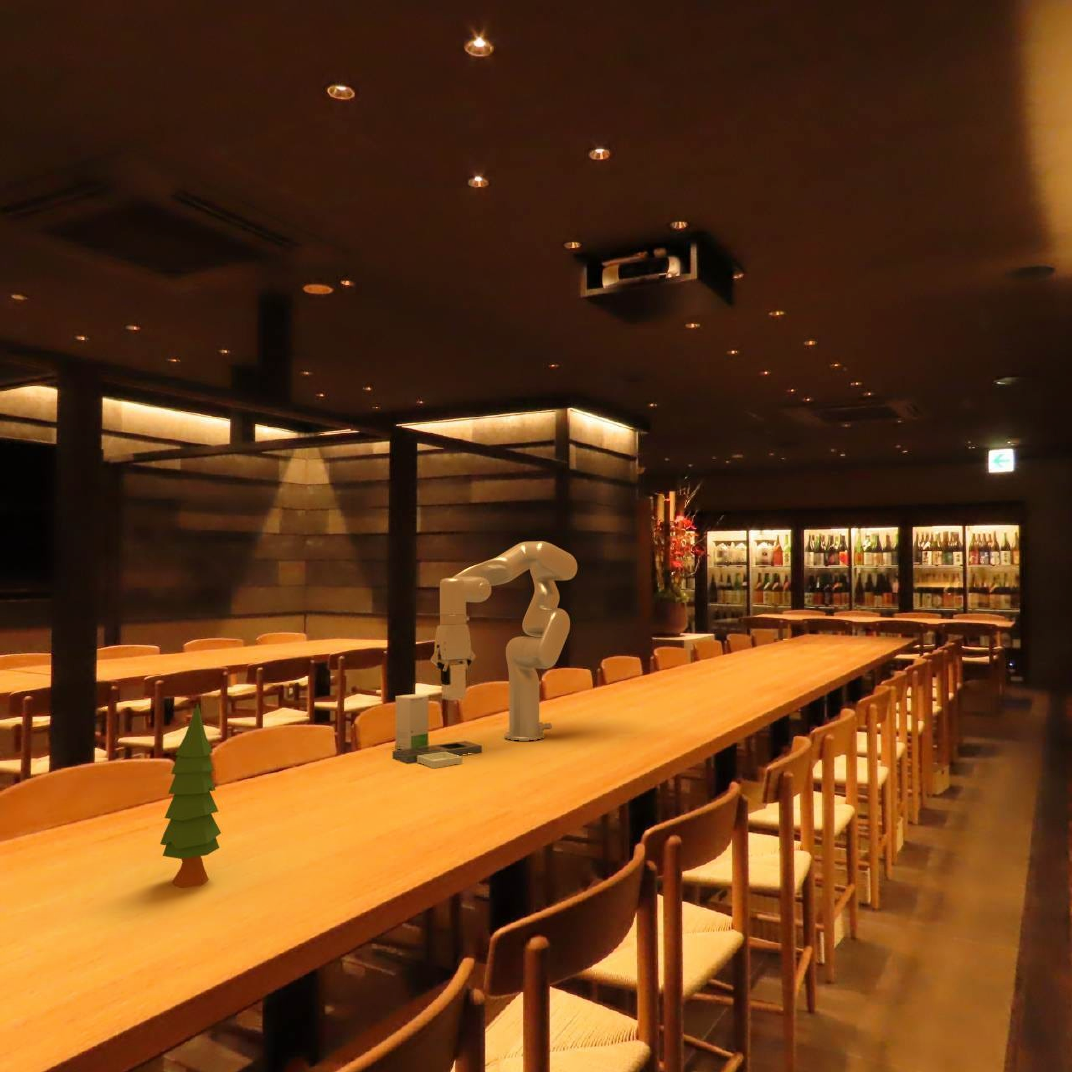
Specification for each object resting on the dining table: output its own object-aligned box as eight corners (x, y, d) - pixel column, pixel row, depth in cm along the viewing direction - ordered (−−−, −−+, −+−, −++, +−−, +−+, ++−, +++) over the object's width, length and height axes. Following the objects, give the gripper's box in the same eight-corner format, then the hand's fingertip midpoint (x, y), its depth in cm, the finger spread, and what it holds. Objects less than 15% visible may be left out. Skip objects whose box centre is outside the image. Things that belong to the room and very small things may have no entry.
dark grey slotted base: (465, 747, 265) (465, 740, 265) (481, 752, 258) (481, 745, 258) (392, 758, 251) (392, 750, 251) (407, 763, 244) (407, 755, 244)
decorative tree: (226, 872, 156) (228, 699, 158) (209, 891, 147) (210, 707, 148) (170, 872, 156) (172, 700, 157) (149, 892, 147) (151, 708, 148)
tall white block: (456, 696, 262) (456, 661, 262) (465, 698, 258) (465, 663, 258) (441, 698, 259) (441, 663, 259) (450, 700, 255) (450, 664, 255)
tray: (445, 758, 250) (445, 751, 250) (462, 764, 243) (462, 757, 243) (416, 762, 245) (416, 755, 245) (433, 768, 238) (433, 761, 238)
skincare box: (409, 751, 259) (409, 697, 260) (393, 749, 263) (393, 696, 264) (429, 747, 266) (429, 694, 267) (413, 744, 270) (414, 692, 271)
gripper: (471, 618, 267) (471, 679, 267) (420, 621, 257) (421, 685, 256) (484, 619, 261) (485, 682, 261) (434, 622, 251) (434, 687, 250)
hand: (453, 683), depth 258 cm, fingers closed on tall white block, 5 cm apart
